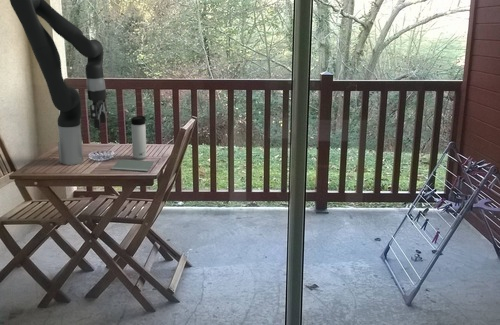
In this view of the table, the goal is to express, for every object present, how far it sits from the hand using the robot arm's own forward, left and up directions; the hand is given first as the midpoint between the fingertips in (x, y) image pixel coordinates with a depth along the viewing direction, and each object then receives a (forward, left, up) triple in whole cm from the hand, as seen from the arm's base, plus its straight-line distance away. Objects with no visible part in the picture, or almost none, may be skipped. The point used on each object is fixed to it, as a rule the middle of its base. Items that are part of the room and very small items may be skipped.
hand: (100, 125), depth 212 cm
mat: (+14, -1, -18) cm, 23 cm away
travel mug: (+14, +10, -18) cm, 25 cm away
